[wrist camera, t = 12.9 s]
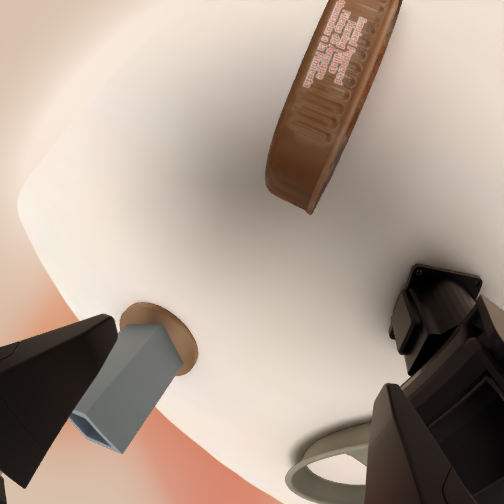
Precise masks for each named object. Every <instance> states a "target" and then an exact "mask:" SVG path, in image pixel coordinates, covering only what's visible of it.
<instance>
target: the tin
mask: <svg viewBox="0 0 504 504" xmlns="http://www.w3.org/2000/svg"><path fill="white" fill-rule="evenodd" d="M401 4H402V0H329V1H328V3H327V5H326V7H325V9H324V12H323V14H322V17H321V19H320V21H319V23H318V25H317V28H316V30H315V32H314V34H313V37H312V39H311V42H310V44H309V47H308V49H307V51H306V53H305V56H304V58H303V60H302V63H301V65H300V68H299V70H298V73H297V75H296V78H295V80H294V82H293V85H292V87H291V90H290V92H289V95H288V97H287V100H286V103H285V105H284V108H283V110H282V113H281V115H280V118H279V121H278V124H277V126H276V129H275V132H274V136H273V139H272V142H271V146H270V150H269V154H268V158H267V165H266V173H265V179H266V186H267V188H268V190H269V191H270V192H271V193H272V194H274V195H276V196H277V197H279V198H281V199H283V200H285V201H287V202H290V203H292V204H294V205H296V206H298V207H300V208H302V209H304V210H305V211H306V212H307V213H308V214H309V215H311V214H312V213H313V211H314V209H315V207H316V205H317V203H318V201H319V199H320V197H321V195H322V193H323V192H324V190H325V188H326V186H327V184H328V182H329V181H330V179H331V177H332V175H333V172H334V170H335V168H336V166H337V164H338V162H339V159H340V157H341V154H342V152H343V150H344V148H345V146H346V144H347V141H348V139H349V137H350V135H351V132H352V130H353V128H354V125H355V123H356V121H357V118H358V116H359V114H360V112H361V109H362V107H363V104H364V102H365V100H366V97H367V95H368V93H369V90H370V88H371V85H372V83H373V81H374V78H375V76H376V73H377V71H378V68H379V66H380V63H381V61H382V58H383V55H384V53H385V50H386V48H387V45H388V42H389V39H390V37H391V34H392V31H393V29H394V26H395V23H396V20H397V16H398V13H399V10H400V7H401Z"/></svg>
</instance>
